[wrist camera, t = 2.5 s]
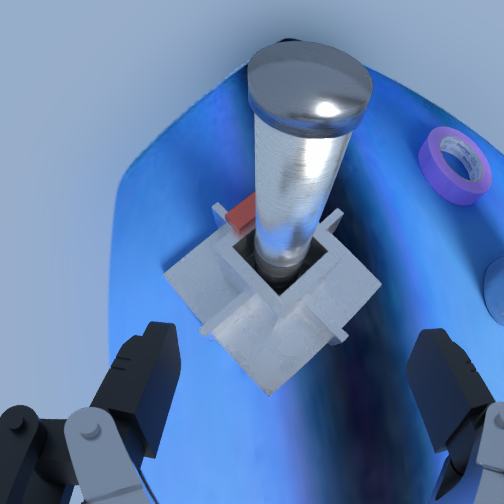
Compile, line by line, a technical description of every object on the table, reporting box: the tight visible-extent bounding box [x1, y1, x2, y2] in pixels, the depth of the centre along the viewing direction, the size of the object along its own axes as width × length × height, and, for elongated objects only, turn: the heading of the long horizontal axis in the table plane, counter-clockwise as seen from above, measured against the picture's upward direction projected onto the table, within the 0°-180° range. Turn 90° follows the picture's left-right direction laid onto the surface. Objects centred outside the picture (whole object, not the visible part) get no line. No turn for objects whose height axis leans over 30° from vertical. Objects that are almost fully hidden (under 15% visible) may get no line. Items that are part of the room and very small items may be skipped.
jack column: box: [248, 41, 373, 296], centre depth 19 cm, size 4×4×23 cm
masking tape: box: [418, 127, 492, 206], centre depth 36 cm, size 12×12×4 cm
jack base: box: [163, 192, 382, 396], centre depth 27 cm, size 17×17×11 cm
